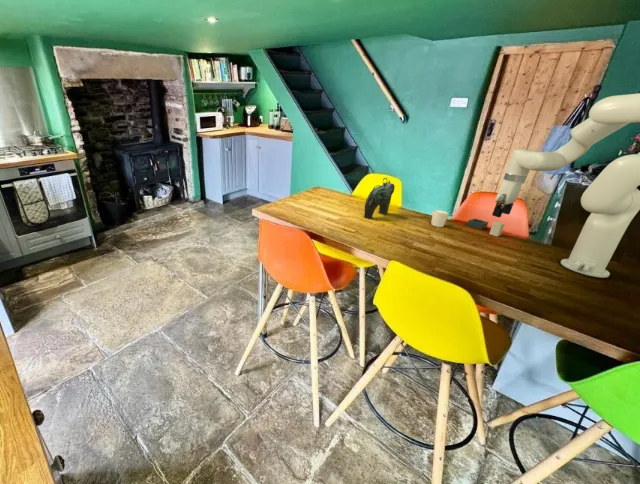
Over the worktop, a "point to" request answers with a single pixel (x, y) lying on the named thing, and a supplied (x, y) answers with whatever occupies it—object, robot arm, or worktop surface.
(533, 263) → the worktop surface
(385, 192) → the dark green arched piece
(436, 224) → the cream cup
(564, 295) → the worktop surface
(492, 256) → the worktop surface
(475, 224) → the dark square tray
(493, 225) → the peg
